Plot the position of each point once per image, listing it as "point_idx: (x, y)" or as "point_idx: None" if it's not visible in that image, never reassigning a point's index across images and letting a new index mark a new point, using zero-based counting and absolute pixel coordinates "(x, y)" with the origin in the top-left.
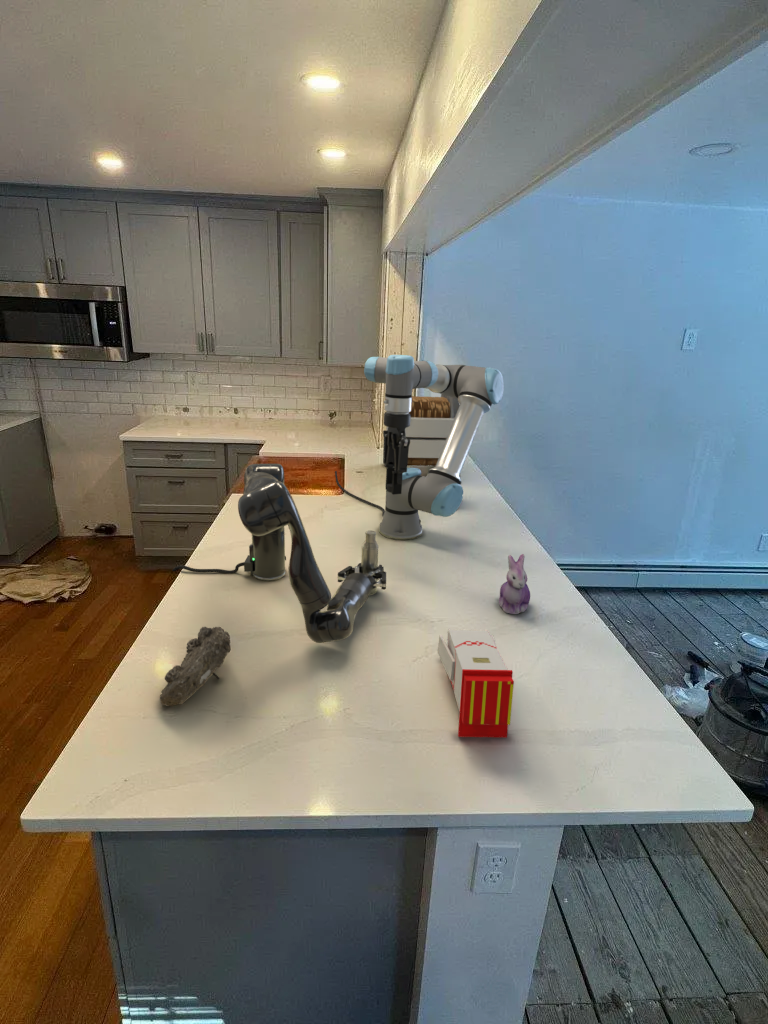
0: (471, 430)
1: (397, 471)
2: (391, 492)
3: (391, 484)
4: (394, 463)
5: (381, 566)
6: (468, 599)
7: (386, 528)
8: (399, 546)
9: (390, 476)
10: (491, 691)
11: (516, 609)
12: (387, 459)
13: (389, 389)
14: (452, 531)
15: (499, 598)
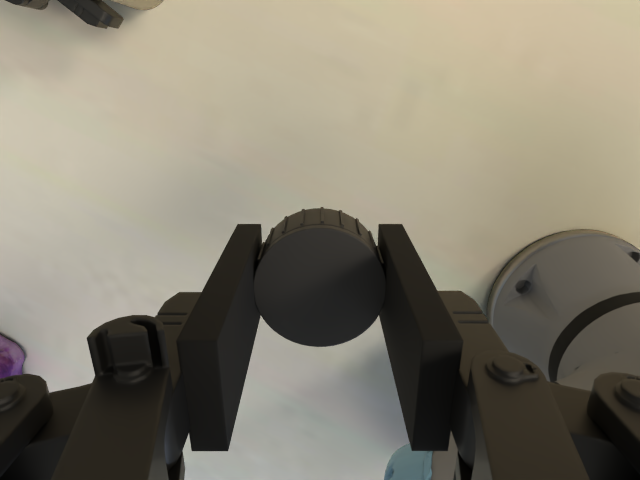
0: None
1: (103, 389)
2: (273, 228)
3: (336, 276)
4: (146, 472)
5: (95, 16)
6: (36, 271)
7: (571, 251)
8: (456, 247)
9: (397, 320)
10: None
11: None
12: (517, 468)
13: None
14: None
15: (2, 343)
